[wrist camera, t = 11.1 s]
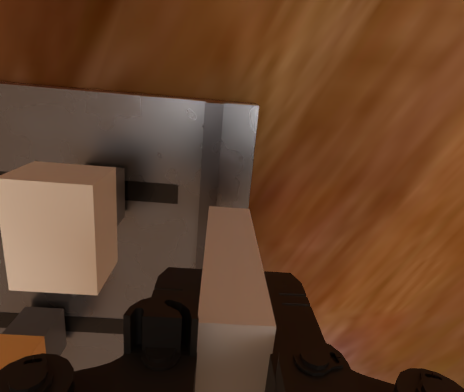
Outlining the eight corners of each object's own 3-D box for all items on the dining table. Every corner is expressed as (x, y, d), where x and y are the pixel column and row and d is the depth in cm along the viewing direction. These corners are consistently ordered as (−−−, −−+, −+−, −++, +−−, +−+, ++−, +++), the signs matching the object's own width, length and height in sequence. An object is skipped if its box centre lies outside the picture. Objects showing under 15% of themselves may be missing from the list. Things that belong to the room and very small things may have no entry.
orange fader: (14, 293, 18) (-70, 377, 13) (72, 296, 18) (13, 380, 13) (22, 354, 19) (-51, 453, 14) (76, 357, 19) (23, 455, 14)
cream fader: (68, 146, 16) (-7, 178, 11) (135, 151, 16) (92, 185, 11) (73, 227, 17) (8, 290, 12) (135, 231, 17) (97, 295, 12)
